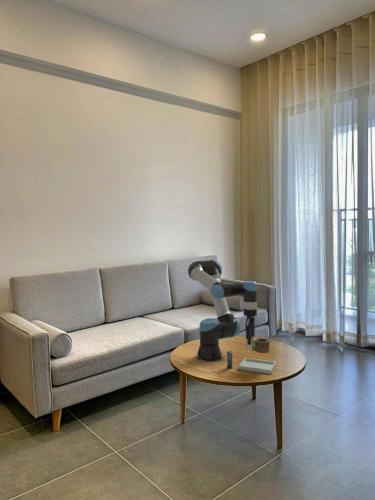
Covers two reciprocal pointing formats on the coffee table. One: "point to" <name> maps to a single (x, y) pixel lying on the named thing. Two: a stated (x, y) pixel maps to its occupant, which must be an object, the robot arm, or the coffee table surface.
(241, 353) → the coffee table surface
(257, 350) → the brown octagonal handled piece
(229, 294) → the robot arm
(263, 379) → the coffee table surface
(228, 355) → the cylinder
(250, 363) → the tray
